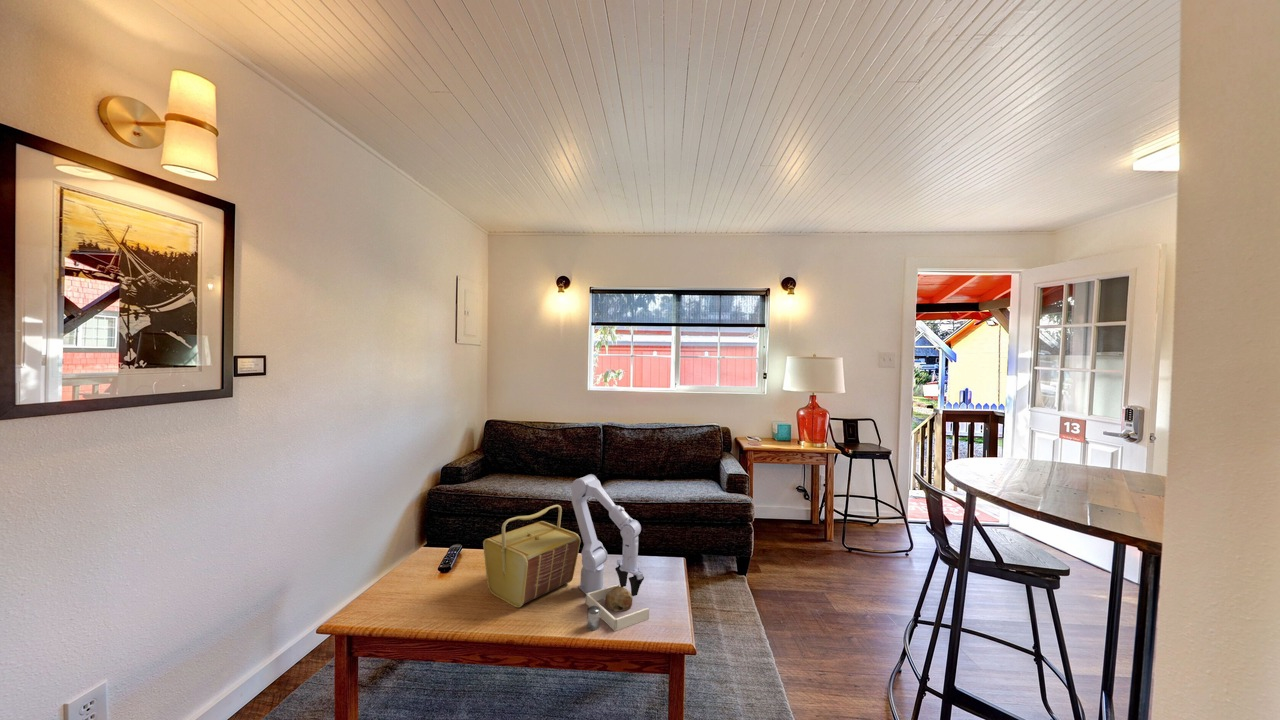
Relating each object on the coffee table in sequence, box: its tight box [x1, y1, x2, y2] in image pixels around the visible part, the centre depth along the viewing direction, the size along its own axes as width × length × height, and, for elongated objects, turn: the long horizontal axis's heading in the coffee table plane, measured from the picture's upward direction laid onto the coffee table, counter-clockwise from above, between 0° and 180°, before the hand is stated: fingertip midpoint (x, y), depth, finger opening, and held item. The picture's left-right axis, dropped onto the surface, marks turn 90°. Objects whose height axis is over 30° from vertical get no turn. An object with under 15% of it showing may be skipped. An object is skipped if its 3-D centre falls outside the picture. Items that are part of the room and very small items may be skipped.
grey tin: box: [586, 606, 600, 632], centre depth 152 cm, size 4×4×6 cm
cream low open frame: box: [585, 583, 650, 632], centre depth 163 cm, size 20×14×4 cm
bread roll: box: [604, 586, 633, 613], centre depth 167 cm, size 10×10×8 cm
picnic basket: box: [482, 504, 581, 609], centre depth 176 cm, size 29×26×30 cm
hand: (628, 590), depth 170 cm, fingers open, 7 cm apart
